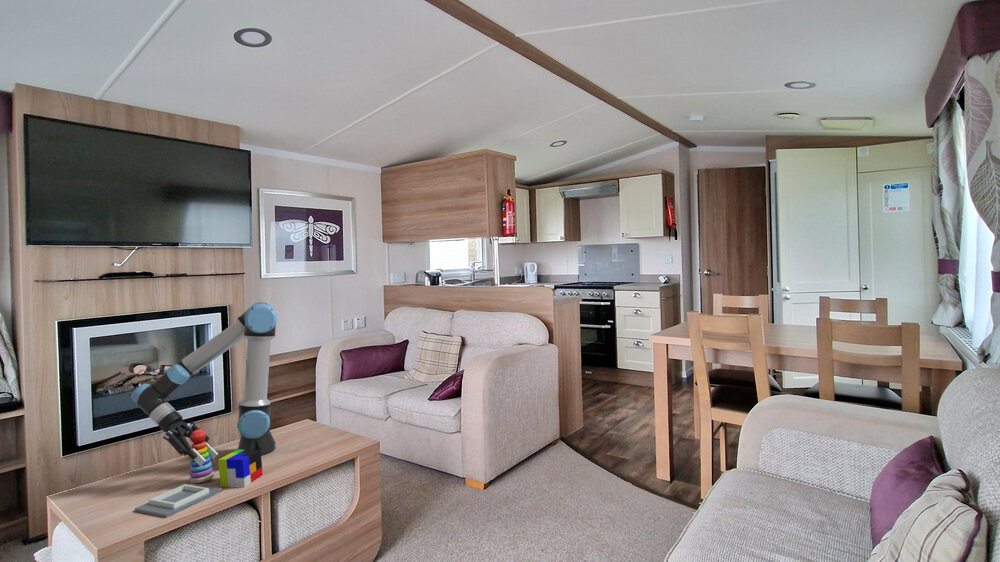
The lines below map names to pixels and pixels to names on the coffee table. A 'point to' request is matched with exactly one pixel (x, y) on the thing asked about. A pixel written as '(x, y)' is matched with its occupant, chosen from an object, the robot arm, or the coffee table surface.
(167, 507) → the board
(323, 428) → the coffee table surface
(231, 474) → the puzzle toy
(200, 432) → the stacking toy
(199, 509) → the coffee table surface
